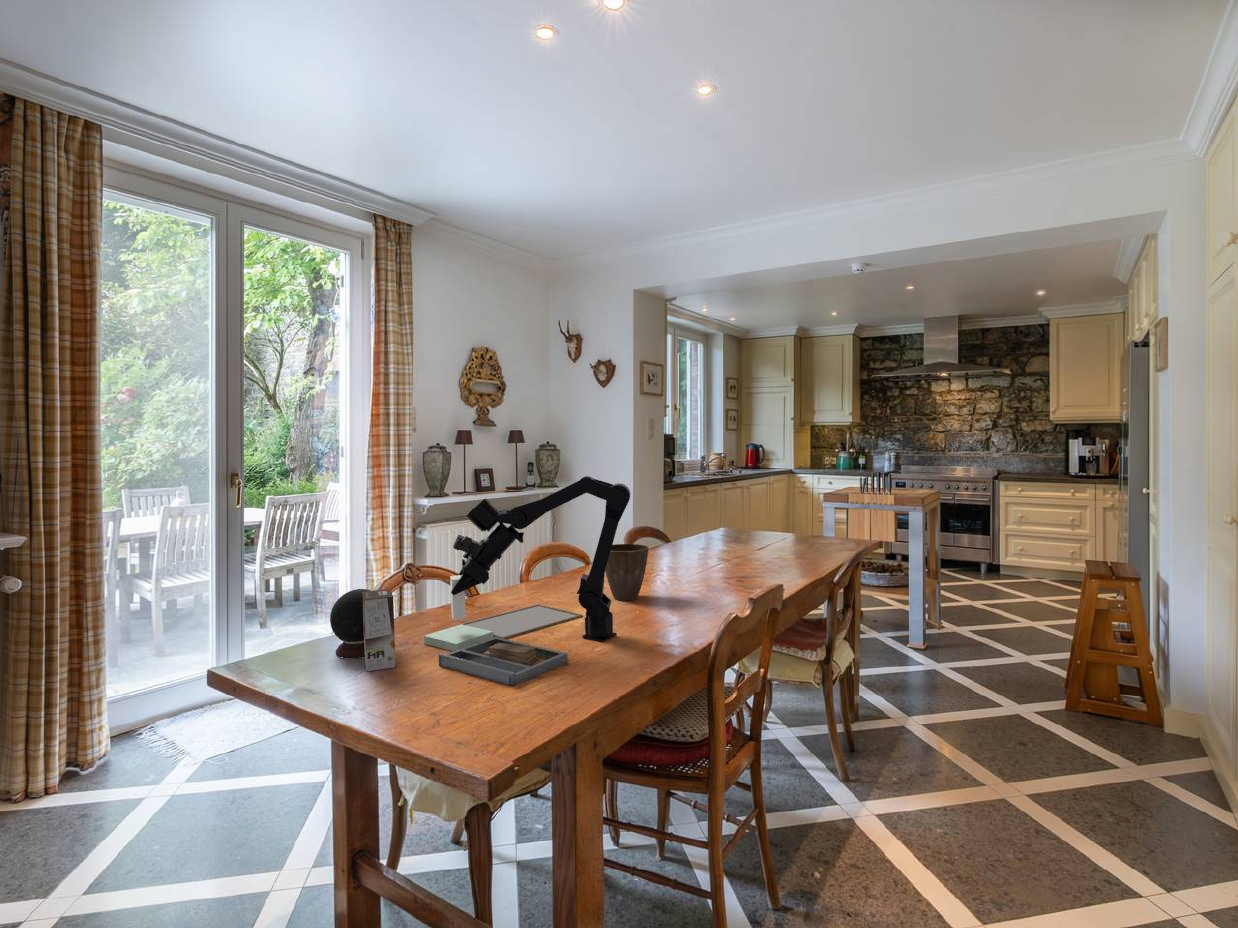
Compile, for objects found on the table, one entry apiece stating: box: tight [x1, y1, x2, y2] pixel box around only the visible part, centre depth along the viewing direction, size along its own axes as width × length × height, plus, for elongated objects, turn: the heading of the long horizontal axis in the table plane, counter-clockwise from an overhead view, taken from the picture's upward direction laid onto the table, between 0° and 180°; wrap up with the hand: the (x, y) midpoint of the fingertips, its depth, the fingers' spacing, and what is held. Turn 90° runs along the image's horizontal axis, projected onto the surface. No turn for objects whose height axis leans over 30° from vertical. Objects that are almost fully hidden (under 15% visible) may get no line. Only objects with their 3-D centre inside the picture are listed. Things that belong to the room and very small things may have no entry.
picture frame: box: [458, 603, 584, 640], centre depth 186 cm, size 19×1×28 cm
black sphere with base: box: [329, 588, 372, 659], centre depth 162 cm, size 13×13×15 cm
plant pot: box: [605, 543, 649, 602], centre depth 210 cm, size 15×15×16 cm
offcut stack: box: [483, 643, 540, 666], centre depth 153 cm, size 12×5×4 cm, turn 68°
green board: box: [423, 623, 494, 652], centre depth 168 cm, size 12×12×2 cm
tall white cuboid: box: [449, 574, 467, 621], centre depth 168 cm, size 5×3×10 cm, turn 19°
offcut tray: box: [438, 637, 569, 687], centre depth 151 cm, size 23×18×2 cm
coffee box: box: [363, 588, 396, 672], centre depth 152 cm, size 9×6×16 cm
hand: (452, 591), depth 167 cm, fingers closed on tall white cuboid, 5 cm apart
